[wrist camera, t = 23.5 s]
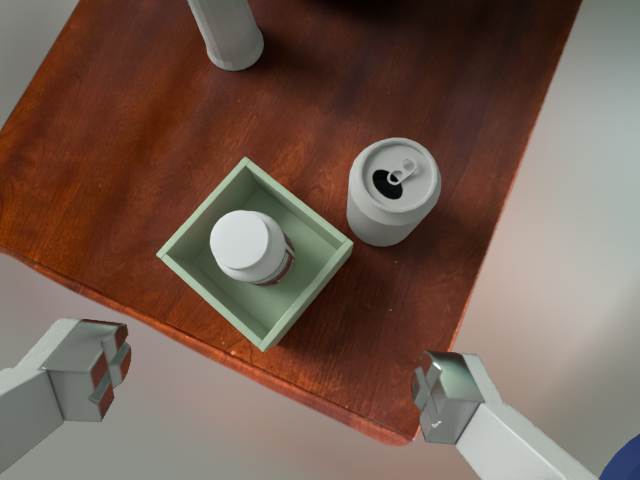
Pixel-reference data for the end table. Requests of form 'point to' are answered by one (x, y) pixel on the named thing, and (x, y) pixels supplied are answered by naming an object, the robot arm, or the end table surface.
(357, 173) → the can
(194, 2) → the grey tall flared cylinder
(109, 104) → the end table surface
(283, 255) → the pill bottle
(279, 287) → the bin
